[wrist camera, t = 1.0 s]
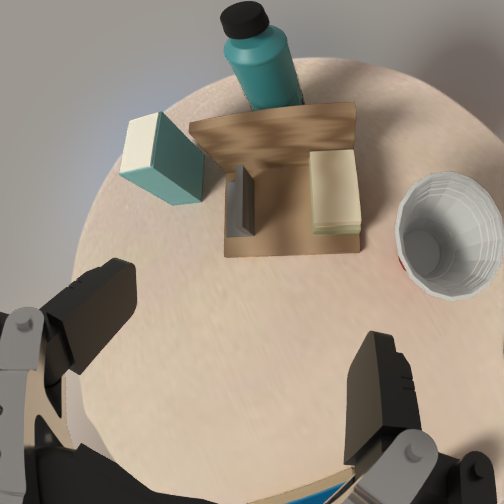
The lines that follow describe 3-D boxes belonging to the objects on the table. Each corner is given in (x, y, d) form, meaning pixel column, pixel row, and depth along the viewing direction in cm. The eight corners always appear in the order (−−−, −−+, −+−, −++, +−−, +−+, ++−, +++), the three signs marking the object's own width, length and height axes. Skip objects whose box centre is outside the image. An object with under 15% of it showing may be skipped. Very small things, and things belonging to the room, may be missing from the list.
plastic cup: (356, 249, 33) (368, 224, 22) (417, 192, 32) (448, 147, 21) (413, 319, 30) (451, 330, 19) (472, 258, 29) (523, 241, 18)
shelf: (350, 157, 35) (354, 102, 24) (359, 252, 33) (372, 230, 22) (228, 168, 39) (189, 122, 28) (226, 257, 37) (180, 239, 26)
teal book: (204, 155, 40) (160, 110, 29) (201, 202, 39) (151, 166, 28) (176, 160, 42) (128, 120, 30) (172, 205, 41) (117, 174, 29)
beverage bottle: (316, 130, 37) (293, 11, 18) (271, 150, 38) (217, 42, 19) (295, 97, 38) (261, -16, 19) (253, 116, 39) (196, 11, 20)
